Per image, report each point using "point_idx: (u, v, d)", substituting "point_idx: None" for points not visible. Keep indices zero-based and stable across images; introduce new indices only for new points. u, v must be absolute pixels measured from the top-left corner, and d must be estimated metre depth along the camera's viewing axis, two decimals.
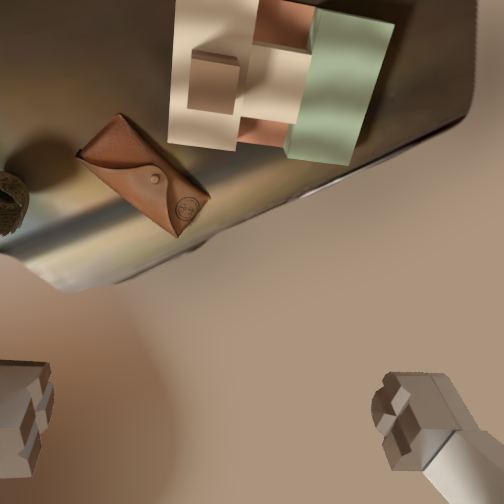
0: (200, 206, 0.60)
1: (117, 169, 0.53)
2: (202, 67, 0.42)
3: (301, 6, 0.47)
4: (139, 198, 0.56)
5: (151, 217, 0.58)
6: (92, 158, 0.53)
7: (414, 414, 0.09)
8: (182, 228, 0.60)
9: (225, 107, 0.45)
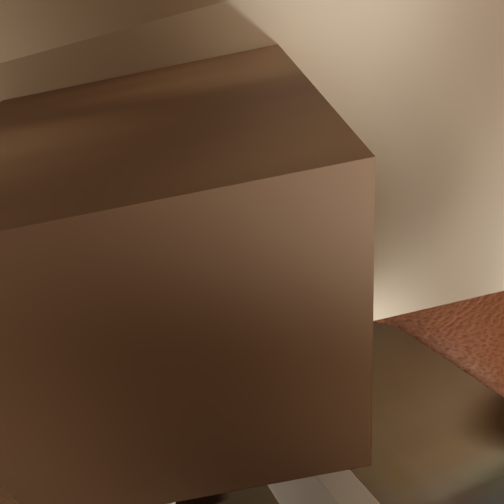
0: None
1: None
2: (50, 480, 0.06)
3: None
4: None
5: None
6: None
7: None
8: None
9: (297, 264, 0.04)
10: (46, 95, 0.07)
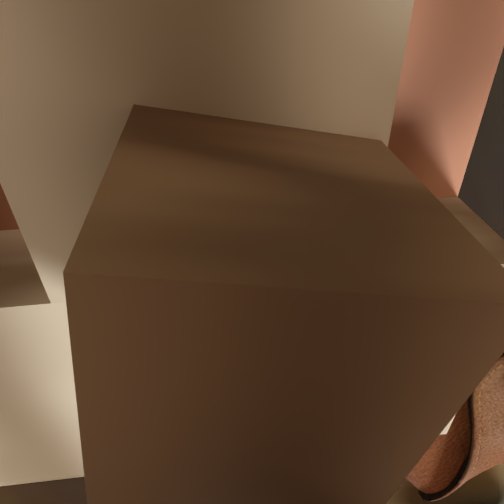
0: None
1: (469, 464, 0.19)
2: (131, 479, 0.06)
3: None
4: None
5: None
6: (427, 483, 0.21)
7: None
8: None
9: (447, 357, 0.05)
10: (182, 116, 0.08)
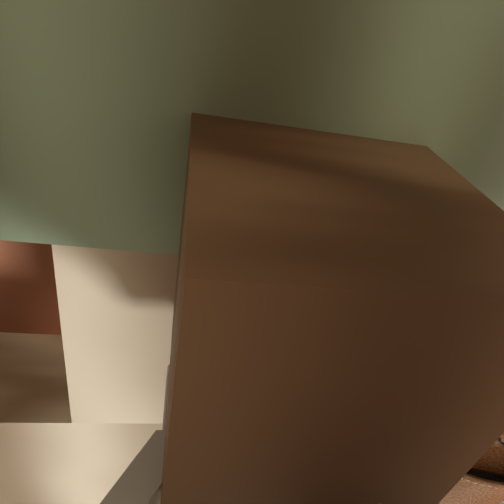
0: None
1: None
2: (207, 477, 0.06)
3: None
4: None
5: None
6: None
7: None
8: None
9: None
10: (238, 124, 0.08)
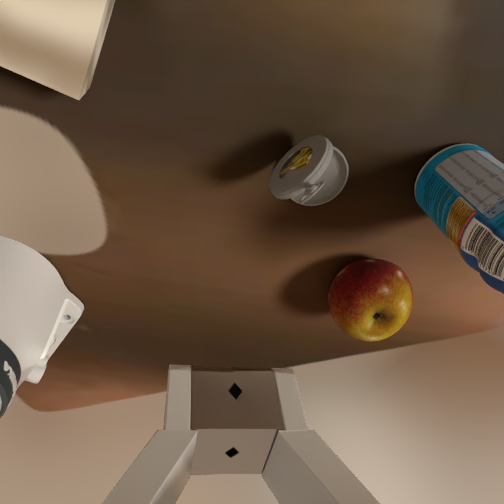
0: None
1: None
2: None
3: None
4: None
5: None
6: None
7: (237, 412, 0.08)
8: None
9: None
10: None
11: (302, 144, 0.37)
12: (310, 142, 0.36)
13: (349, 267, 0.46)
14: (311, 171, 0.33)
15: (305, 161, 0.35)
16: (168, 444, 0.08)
